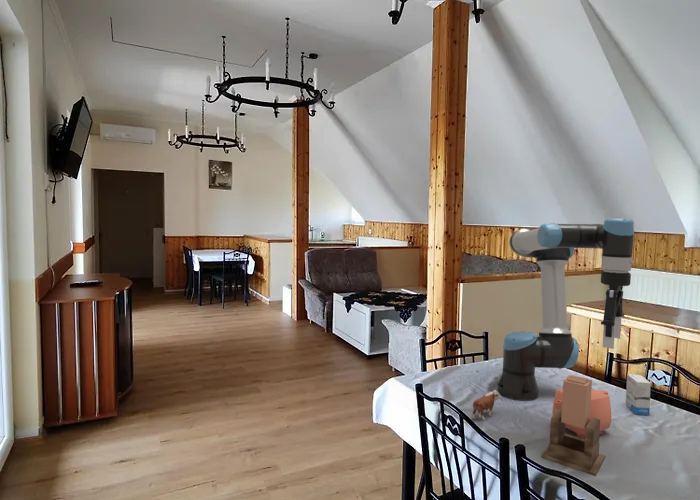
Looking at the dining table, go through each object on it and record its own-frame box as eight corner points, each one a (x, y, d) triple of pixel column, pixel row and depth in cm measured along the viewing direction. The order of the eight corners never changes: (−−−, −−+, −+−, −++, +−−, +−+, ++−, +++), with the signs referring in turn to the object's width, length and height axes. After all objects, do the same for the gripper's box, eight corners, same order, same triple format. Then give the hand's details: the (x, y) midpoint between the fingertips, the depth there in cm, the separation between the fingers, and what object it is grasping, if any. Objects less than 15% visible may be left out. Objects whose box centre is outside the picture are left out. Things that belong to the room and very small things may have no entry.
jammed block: (561, 422, 129) (563, 379, 128) (566, 415, 134) (569, 373, 133) (584, 428, 125) (587, 384, 124) (589, 421, 130) (592, 378, 129)
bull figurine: (502, 413, 159) (503, 390, 158) (478, 423, 151) (479, 399, 150) (492, 409, 162) (493, 386, 161) (467, 418, 154) (468, 395, 153)
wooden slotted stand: (541, 457, 130) (543, 418, 129) (553, 441, 139) (555, 405, 139) (595, 475, 121) (598, 434, 120) (605, 457, 131) (607, 418, 130)
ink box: (649, 415, 158) (652, 383, 158) (634, 414, 159) (636, 381, 158) (639, 405, 167) (641, 374, 166) (624, 404, 168) (626, 373, 167)
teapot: (570, 444, 138) (572, 399, 137) (538, 426, 149) (540, 384, 148) (621, 432, 146) (624, 389, 145) (587, 416, 158) (589, 376, 157)
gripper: (625, 276, 121) (620, 355, 122) (635, 268, 141) (631, 336, 142) (593, 274, 125) (589, 349, 127) (608, 266, 145) (604, 332, 147)
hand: (611, 342), depth 135 cm, fingers open, 13 cm apart
